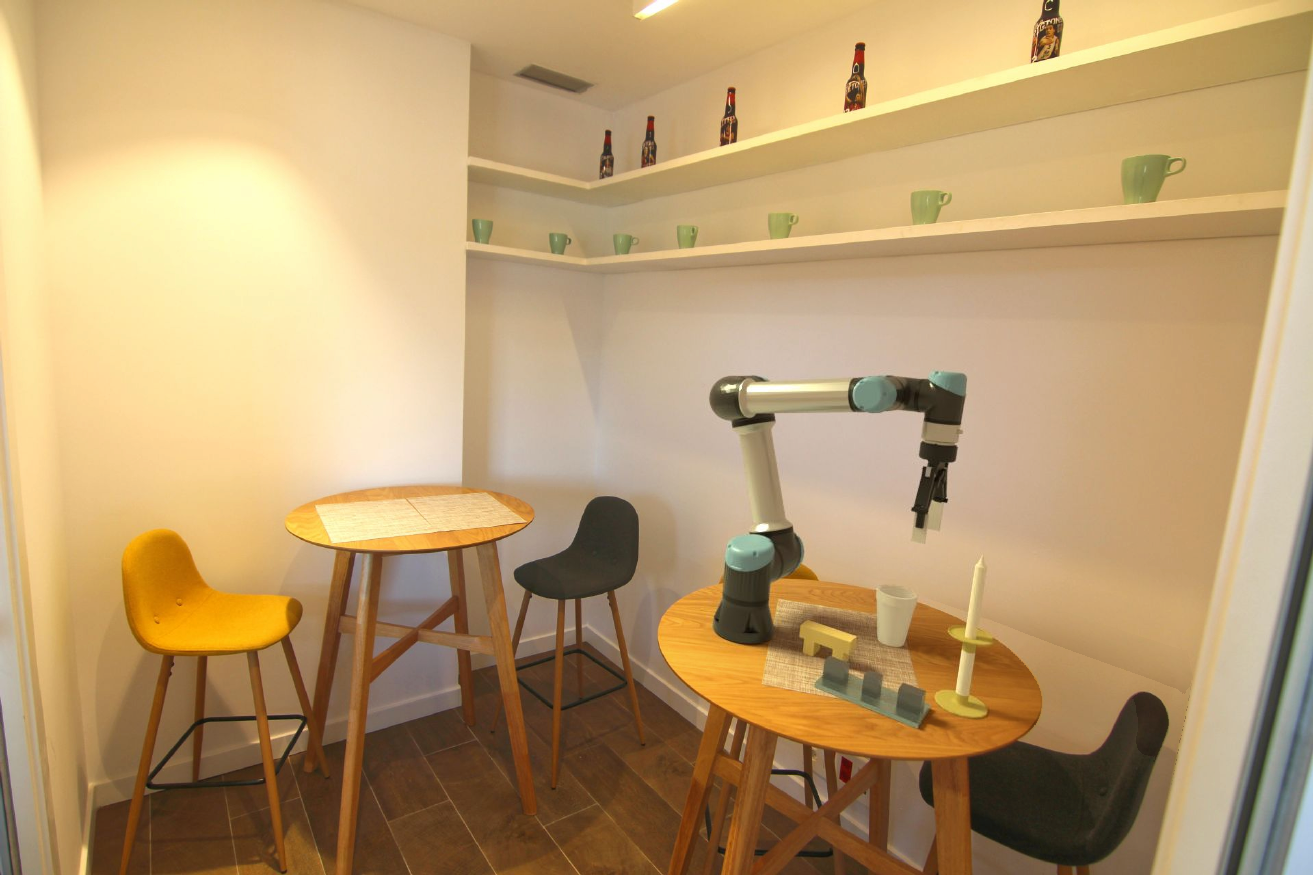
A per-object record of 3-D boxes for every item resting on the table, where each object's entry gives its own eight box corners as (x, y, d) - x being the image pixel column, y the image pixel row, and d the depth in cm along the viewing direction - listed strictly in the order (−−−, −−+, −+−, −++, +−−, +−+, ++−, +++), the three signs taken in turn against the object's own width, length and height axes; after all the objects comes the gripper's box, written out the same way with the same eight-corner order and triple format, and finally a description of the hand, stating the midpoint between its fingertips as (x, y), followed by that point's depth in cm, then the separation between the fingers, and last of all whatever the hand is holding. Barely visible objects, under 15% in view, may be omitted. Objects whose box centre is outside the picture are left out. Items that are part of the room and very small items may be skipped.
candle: (963, 722, 121) (987, 564, 116) (923, 695, 130) (944, 547, 125) (999, 713, 125) (1023, 560, 120) (957, 687, 134) (978, 544, 129)
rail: (814, 686, 130) (816, 664, 130) (830, 670, 137) (832, 649, 137) (917, 728, 118) (920, 704, 117) (929, 708, 125) (932, 685, 124)
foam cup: (914, 652, 149) (920, 601, 147) (874, 646, 151) (880, 596, 149) (906, 635, 158) (912, 587, 156) (868, 629, 160) (874, 582, 158)
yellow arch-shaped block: (797, 650, 146) (800, 624, 145) (804, 644, 149) (807, 619, 148) (847, 669, 139) (850, 642, 138) (853, 662, 142) (856, 636, 141)
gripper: (945, 450, 122) (930, 552, 126) (969, 440, 142) (955, 528, 146) (906, 444, 127) (892, 543, 130) (934, 435, 147) (922, 521, 150)
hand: (925, 535), depth 138 cm, fingers open, 13 cm apart
